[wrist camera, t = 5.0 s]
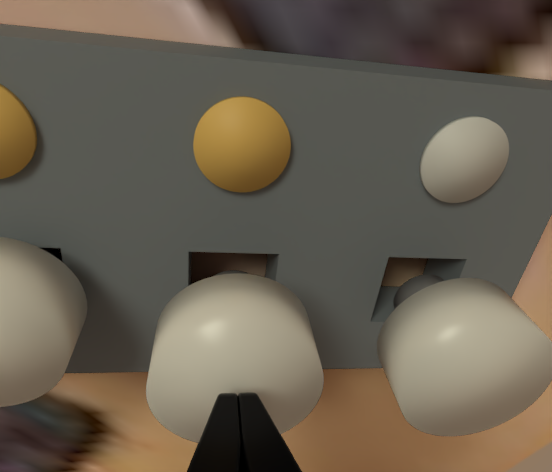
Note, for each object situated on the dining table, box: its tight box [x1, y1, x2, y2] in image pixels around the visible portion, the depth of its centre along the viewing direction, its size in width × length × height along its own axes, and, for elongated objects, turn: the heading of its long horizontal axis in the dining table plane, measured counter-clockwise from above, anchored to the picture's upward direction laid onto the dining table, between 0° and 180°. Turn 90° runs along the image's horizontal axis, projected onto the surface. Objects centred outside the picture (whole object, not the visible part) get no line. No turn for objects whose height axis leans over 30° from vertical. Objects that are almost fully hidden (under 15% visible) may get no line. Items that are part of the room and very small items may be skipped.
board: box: [0, 24, 552, 373], centre depth 13 cm, size 10×19×2 cm, turn 84°
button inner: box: [0, 237, 87, 407], centre depth 11 cm, size 4×4×4 cm
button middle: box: [146, 270, 324, 443], centre depth 11 cm, size 4×4×4 cm
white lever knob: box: [377, 274, 552, 436], centre depth 12 cm, size 4×4×4 cm
